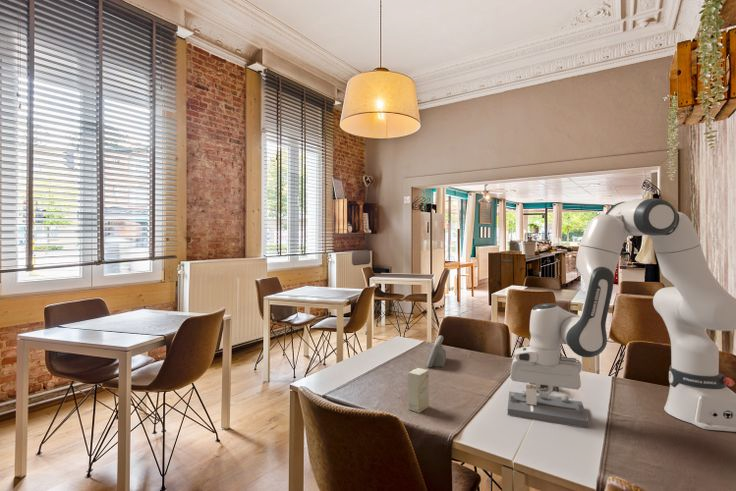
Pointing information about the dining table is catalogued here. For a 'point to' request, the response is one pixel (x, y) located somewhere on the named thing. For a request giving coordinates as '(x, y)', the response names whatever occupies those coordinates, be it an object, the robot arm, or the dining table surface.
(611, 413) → the dining table surface
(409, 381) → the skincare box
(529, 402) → the fader tab
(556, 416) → the console
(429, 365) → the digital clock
